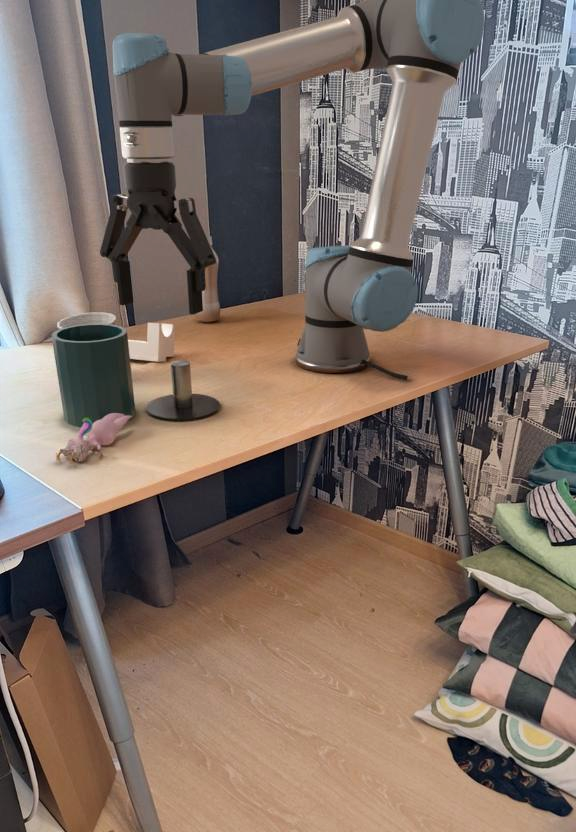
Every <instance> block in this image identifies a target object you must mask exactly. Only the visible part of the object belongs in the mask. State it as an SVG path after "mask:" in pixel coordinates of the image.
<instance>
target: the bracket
mask: <svg viewBox="0 0 576 832" xmlns="http://www.w3.org/2000/svg"><path fill="white" fill-rule="evenodd" d="M175 330H176V325H175V324H173V323H160V322H147V331H146V332H147V333H146V334H147V335H146V337H147V338H146V341H145V340H136V339H128V346H129V355H130V360H138V361H147V362H157V363H159V362H160V363H161V362H167V358H168V357H174V356H175V355H174V354H175Z"/></svg>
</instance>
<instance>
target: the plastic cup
mask: <svg viewBox="0 0 576 832" xmlns="http://www.w3.org/2000/svg"><path fill="white" fill-rule="evenodd" d="M116 322H117V318H116V315H115V314H112V313H110V312H102V311H99V312H98V311H97V312H96V311H94V312H93V311H92V312H84V313H79V314H78V313H77V314H74V315H70V316H67V317H65V318H62V319H60V320H59V321H57V323H56V328H57V329H58V330H59V329H62V328H65V327H69V326H75V325H83V324H112V325H116V324H115V323H116Z"/></svg>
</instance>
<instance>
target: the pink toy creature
mask: <svg viewBox="0 0 576 832" xmlns="http://www.w3.org/2000/svg"><path fill="white" fill-rule="evenodd" d="M129 418H132V416H129V415H128V416H125V415H124V414H120V413H111V414H108V415H106V416H105V417H104V418H103V419H101V420H97V421H96V422H94V423H93V424H92V421H91V420H90V419H89V418H84V419H83V420H82V422H84V424H83V426H82V427H80V429H79V431H78V435H77V437H75V438H70V439H68V440H67V441H68V443H67V444H66V446H65V447H64V448H60V449H59V452H58V453H57V452H55V455H56V456H55V457H56V460H55V461H57V462H58V464H60V463H61V462H62V460H61V454H62V455H63V456H64V457H65V459H67V460H68V461H69V463H68V465H71V467H72V468H73V467H74V466H75V464H74V462H73V460H75V462H77V463H81V462H83V461H85V460H86V459H87V456H88V454H89V452H91V451H93V449H94V448H96V449H97V450H98V451H101V450H102V446H110V445H111V444H112V443H113V442H114V441H115V439H116V436H117V434H118V431H120V430H121V429H122V428H123V427H124V426H125V425H126V423H127V422H128V421H127V420H128V419H129ZM132 419H133V418H132ZM85 435H86V438H84V436H85Z"/></svg>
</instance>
